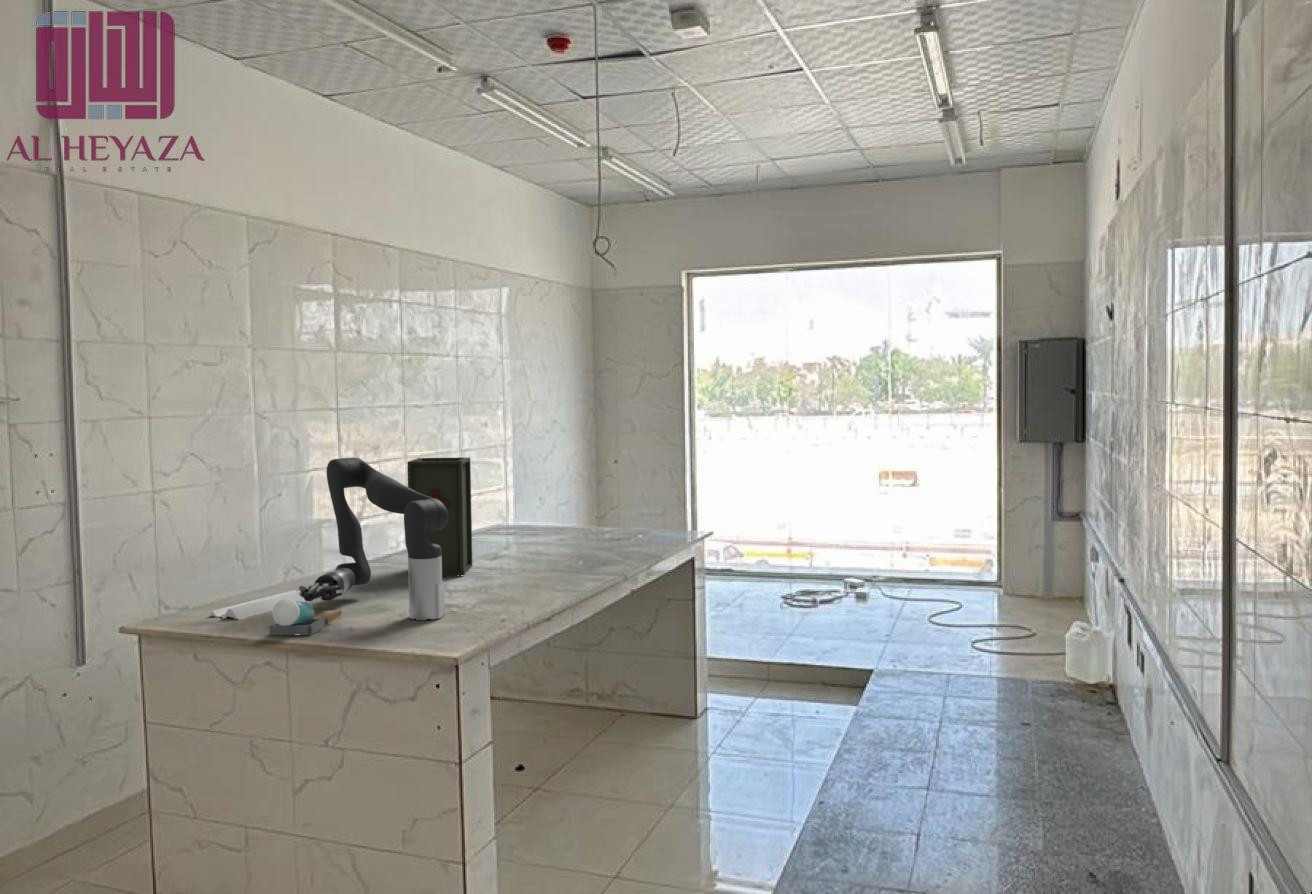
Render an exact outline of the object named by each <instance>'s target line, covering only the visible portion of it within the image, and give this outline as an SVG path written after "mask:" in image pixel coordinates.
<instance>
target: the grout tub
mask: <svg viewBox="0 0 1312 894" xmlns="http://www.w3.org/2000/svg"><path fill="white" fill-rule="evenodd" d="M314 611H315V609H314V607H313V605H312V604H311V603H309V602H300V601H293V600H290V599H283V600H281V601H279V602H278V603H277V604H276V605H275V606H274V608H273V611H272V618H273V620H274V623H275V622H276V623H278V624H279V625H283V626H288V625H307V624H309V623H310V622H311V621H312V620H313V617H314Z"/></svg>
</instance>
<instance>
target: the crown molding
mask: <svg viewBox="0 0 1312 894" xmlns="http://www.w3.org/2000/svg"><path fill="white" fill-rule="evenodd" d="M283 599H290V600H293V601H300V602H304V601H305V600H304V598H303V597H301V596H300V595H299V590H296V589H294V590H289V591H285V592H282V593H278V594H273V595H269V596H266V597H262V598H258V599H253V600H251V601H245V602H243V603H239V604H235V605H230V606H226V607H222V608H218V609H215V610H214V609H213V610H212V611H211V612H210V613H209V617H214V616H221V615H223V614H224V616H222V617H229V618H232V619H234V620H235V619H240V618H244V617H248V616H252V615H255V614H260V613H264V612H268V611H271V610H273V608H274V606H275V605H276V604H277V603H278V602H279V601H281V600H283ZM268 613H269V612H268Z"/></svg>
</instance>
